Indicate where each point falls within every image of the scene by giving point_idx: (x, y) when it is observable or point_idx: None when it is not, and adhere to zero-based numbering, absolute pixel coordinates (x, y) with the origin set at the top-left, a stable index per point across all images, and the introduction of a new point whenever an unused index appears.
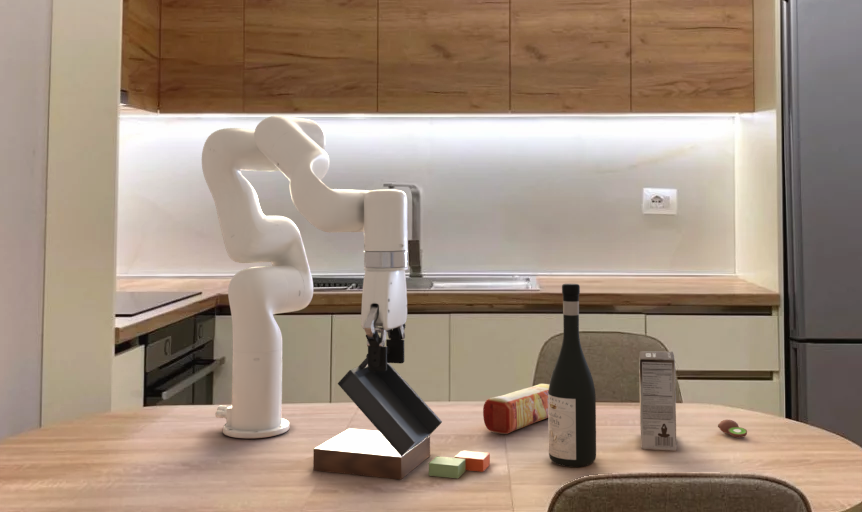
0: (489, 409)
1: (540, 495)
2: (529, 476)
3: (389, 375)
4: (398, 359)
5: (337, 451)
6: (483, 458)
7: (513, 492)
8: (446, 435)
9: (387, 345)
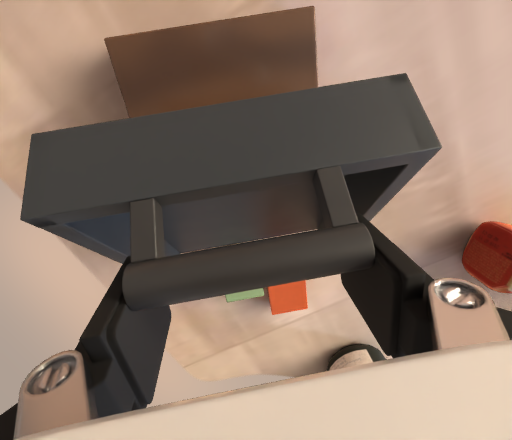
0: (505, 249)
1: (220, 377)
2: (278, 347)
3: (371, 172)
4: (346, 276)
5: (127, 111)
6: (277, 313)
7: (214, 356)
8: (446, 166)
9: (378, 266)
